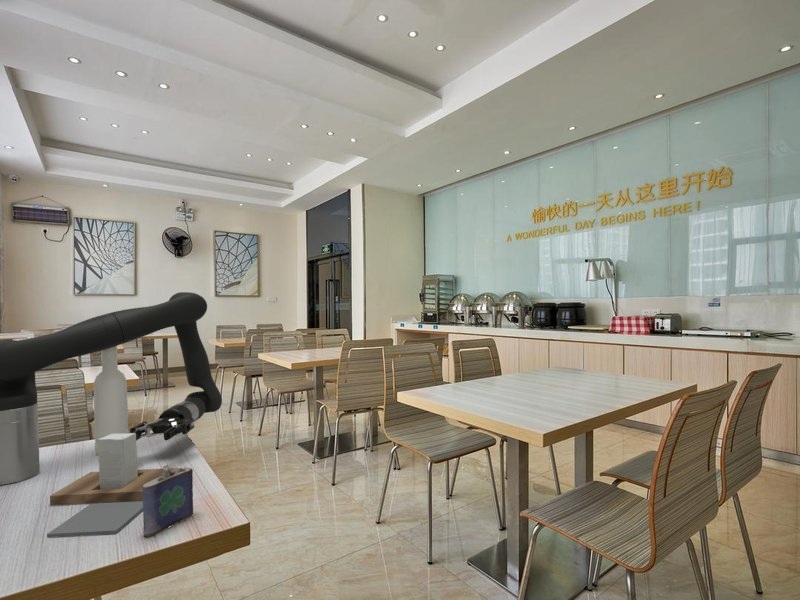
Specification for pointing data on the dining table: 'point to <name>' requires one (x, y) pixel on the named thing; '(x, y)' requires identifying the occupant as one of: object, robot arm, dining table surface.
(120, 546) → the dining table surface
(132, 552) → the dining table surface
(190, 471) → the flask
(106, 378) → the bottle
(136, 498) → the brown slab with opening
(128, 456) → the skincare box
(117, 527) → the slate mat
